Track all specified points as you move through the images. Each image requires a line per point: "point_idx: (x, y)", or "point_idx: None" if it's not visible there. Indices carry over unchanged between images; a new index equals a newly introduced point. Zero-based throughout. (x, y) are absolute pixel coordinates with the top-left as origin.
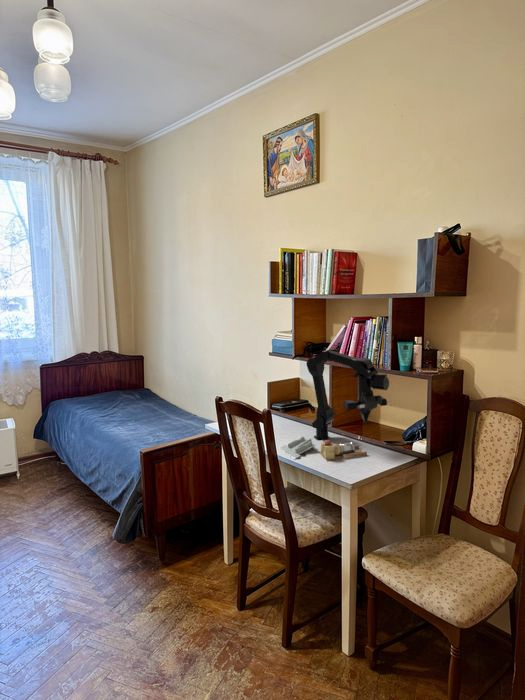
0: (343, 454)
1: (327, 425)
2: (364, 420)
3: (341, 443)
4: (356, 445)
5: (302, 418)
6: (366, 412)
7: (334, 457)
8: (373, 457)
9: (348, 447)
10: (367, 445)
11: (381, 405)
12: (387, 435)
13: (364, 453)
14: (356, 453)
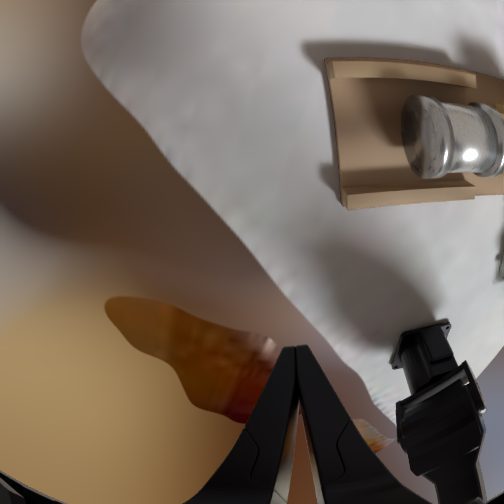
0: (474, 87)
1: (418, 391)
2: (315, 361)
3: (501, 151)
4: (361, 198)
5: (371, 439)
6: (282, 470)
7: (498, 104)
8: (286, 40)
9: (462, 110)
10: (264, 238)
11: (4, 493)
12: (140, 326)
13: (349, 61)
14: (407, 64)
